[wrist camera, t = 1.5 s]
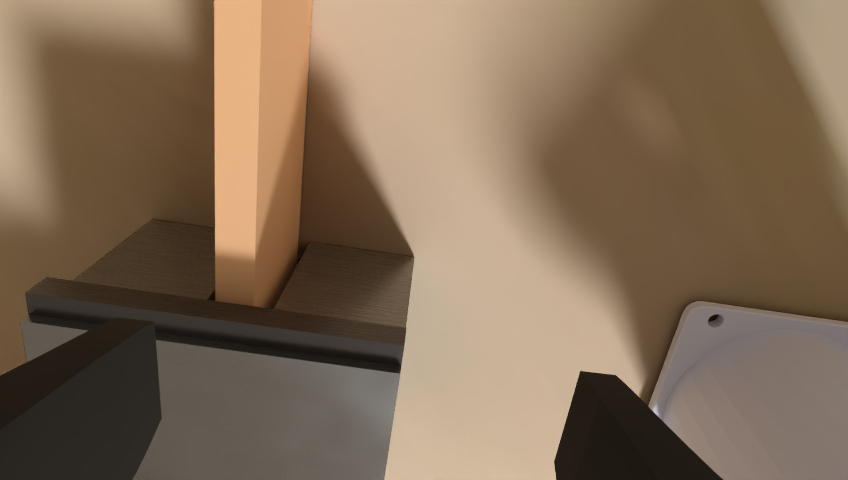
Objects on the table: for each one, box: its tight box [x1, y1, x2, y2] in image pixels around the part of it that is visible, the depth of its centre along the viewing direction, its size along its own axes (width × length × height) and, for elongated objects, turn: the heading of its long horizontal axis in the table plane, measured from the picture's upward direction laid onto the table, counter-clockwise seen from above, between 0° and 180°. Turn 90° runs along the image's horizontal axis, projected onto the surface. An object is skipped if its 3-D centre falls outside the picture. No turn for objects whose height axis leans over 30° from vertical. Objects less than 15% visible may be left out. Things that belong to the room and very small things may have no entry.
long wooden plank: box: [214, 0, 313, 309], centre depth 17 cm, size 1×12×5 cm, turn 173°
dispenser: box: [20, 219, 414, 480], centre depth 18 cm, size 9×7×7 cm
